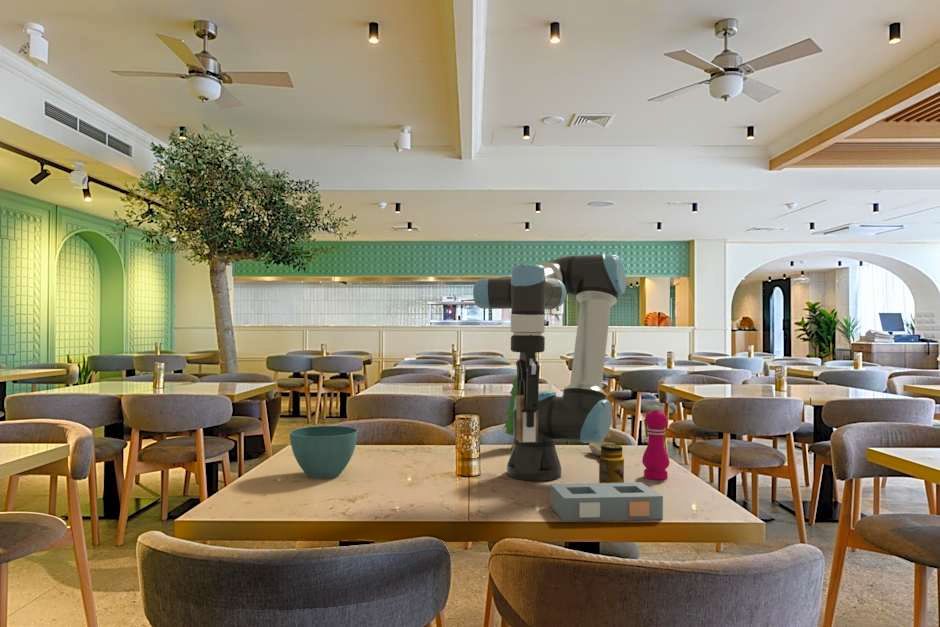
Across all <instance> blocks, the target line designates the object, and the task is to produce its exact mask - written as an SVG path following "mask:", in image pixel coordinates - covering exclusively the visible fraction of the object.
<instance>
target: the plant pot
mask: <svg viewBox="0 0 940 627" xmlns="http://www.w3.org/2000/svg"><path fill="white" fill-rule="evenodd" d="M358 433H359V430H358V429H357V428H355V427H352V426H344V425H343V426H340V425H317V426H316V425H315V426H314V425H313V426H306V427H300V428H296V429H292V430H290V431H289V442H290V445H291V450H292V453H293V456H294V459H295V460H296V462H297V464H298V465H299V467H300V468H301V470H302V471H303V473H304V474H305V475H306V476H307V477H309V478H310V479H314V480H315V479H318V480H326V479H333V478H336V477H338V476H340V475H341V474H342V472H343V471H345V469H346V467H347V466H348V464H349V462H350V461H351V459H352V457H353V454H354V452H355V450H356V444H357V440H358Z"/></svg>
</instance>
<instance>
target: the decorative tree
mask: <svg viewBox="0 0 940 627" xmlns="http://www.w3.org/2000/svg"><path fill="white" fill-rule="evenodd" d="M511 385H512V388H511V391H510V392H509V394H510V395H511V396H510V397H509V401H508V402H507V404H510V406H509V407H508V410H507V413H506V416H508V418H507V420H506V422H505V424H504V426H503V427H504V428H505V429H506V430H505V434H506V435H510V436H514V411H513V409H514V400H515V397H516V396H517V375H516V376H515V379H514V380H513V382H512V384H511ZM513 446H514V442H513V443H512V445H511V448H512V449H513ZM511 448H510V449H511ZM512 449H511V450H512Z"/></svg>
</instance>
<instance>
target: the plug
mask: <svg viewBox="0 0 940 627" xmlns="http://www.w3.org/2000/svg"><path fill="white" fill-rule="evenodd" d="M521 409H524V395H517V419H516V440H517V441H518V442H519V443H538V410H536V439H535V442H523V412H521Z"/></svg>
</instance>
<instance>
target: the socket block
mask: <svg viewBox="0 0 940 627" xmlns="http://www.w3.org/2000/svg"><path fill="white" fill-rule="evenodd" d="M549 504H550V507H551V508H552V510H554V511H555V513H556V514H557V515H558V517H559V518H560V519H561V520H562V521H563V523H566V522H569V523H571V522H610V521H611V522H612V521H642V520H643V521H645V520H647V521H648V520H649V521H651V520H653V521H654V520H664V514H663V513H664V512H663V511H664V496H663V495H662V494H660V493H659V492H658V491H656V490H654V489H653V488H651V487H650V486H648V485H646V484H645V483H644V482H641V481H640V482H639V481H637V482H636V481H634V482H624V483H599V482H594V483H593V482H587V483H585V482H584V483H550V502H549Z"/></svg>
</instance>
